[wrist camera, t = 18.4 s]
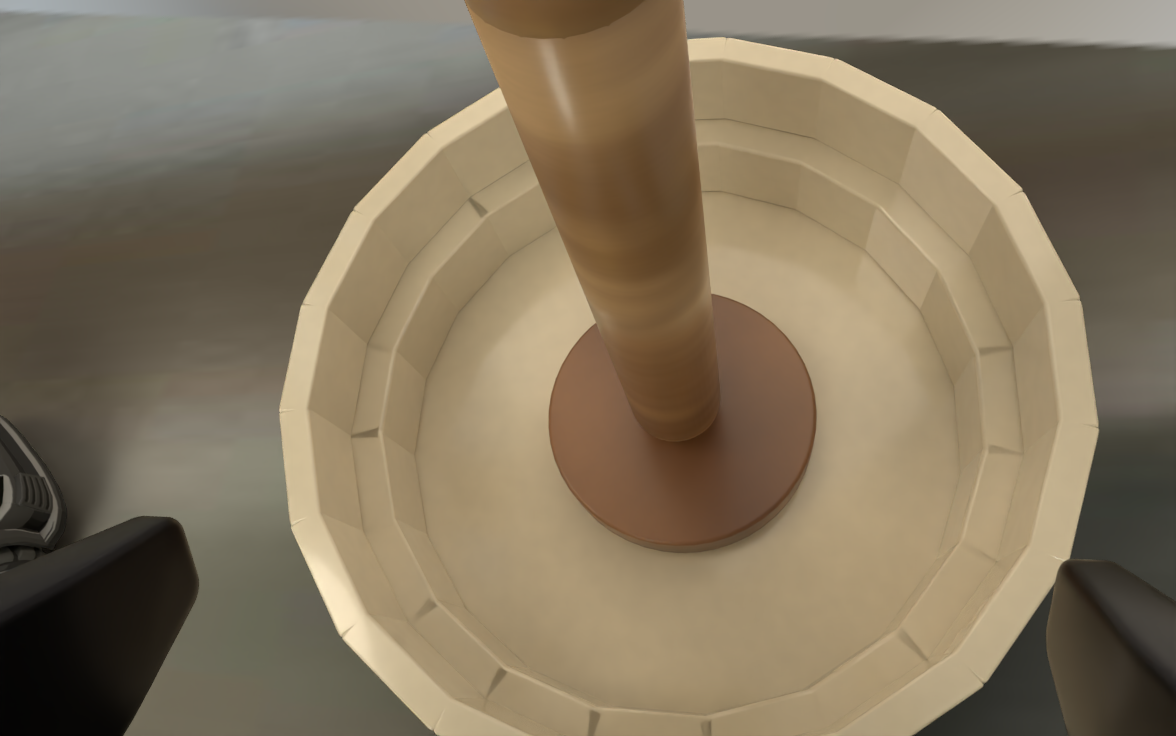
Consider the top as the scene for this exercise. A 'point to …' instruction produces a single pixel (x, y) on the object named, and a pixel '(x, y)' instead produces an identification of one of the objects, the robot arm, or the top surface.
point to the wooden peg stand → (646, 283)
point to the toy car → (26, 501)
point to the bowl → (833, 476)
